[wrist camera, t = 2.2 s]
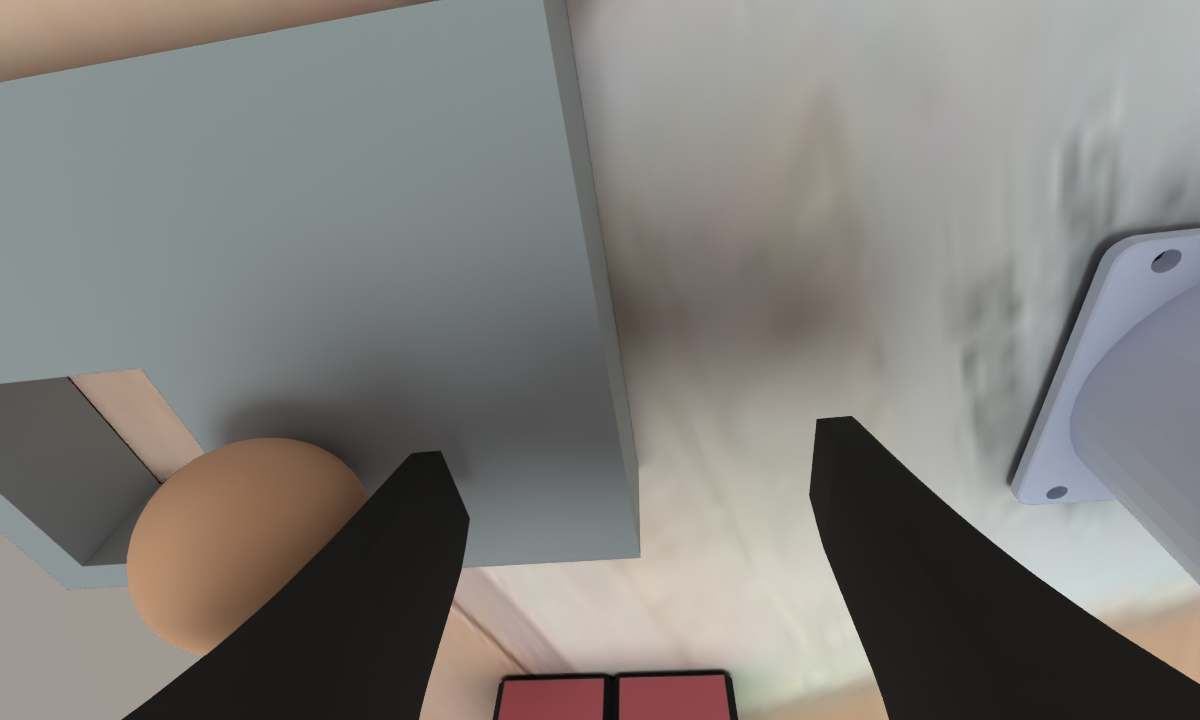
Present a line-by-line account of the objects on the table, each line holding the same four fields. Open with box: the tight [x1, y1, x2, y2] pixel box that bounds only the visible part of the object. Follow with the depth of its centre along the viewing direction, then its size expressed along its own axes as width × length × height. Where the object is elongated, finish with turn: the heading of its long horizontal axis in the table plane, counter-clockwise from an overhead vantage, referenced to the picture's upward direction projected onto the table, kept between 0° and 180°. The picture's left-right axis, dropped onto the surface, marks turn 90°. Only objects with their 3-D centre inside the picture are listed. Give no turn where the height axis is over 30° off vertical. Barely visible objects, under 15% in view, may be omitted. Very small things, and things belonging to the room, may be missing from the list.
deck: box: [0, 0, 640, 590], centre depth 12 cm, size 16×12×3 cm
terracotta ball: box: [127, 438, 368, 656], centre depth 11 cm, size 4×4×4 cm
